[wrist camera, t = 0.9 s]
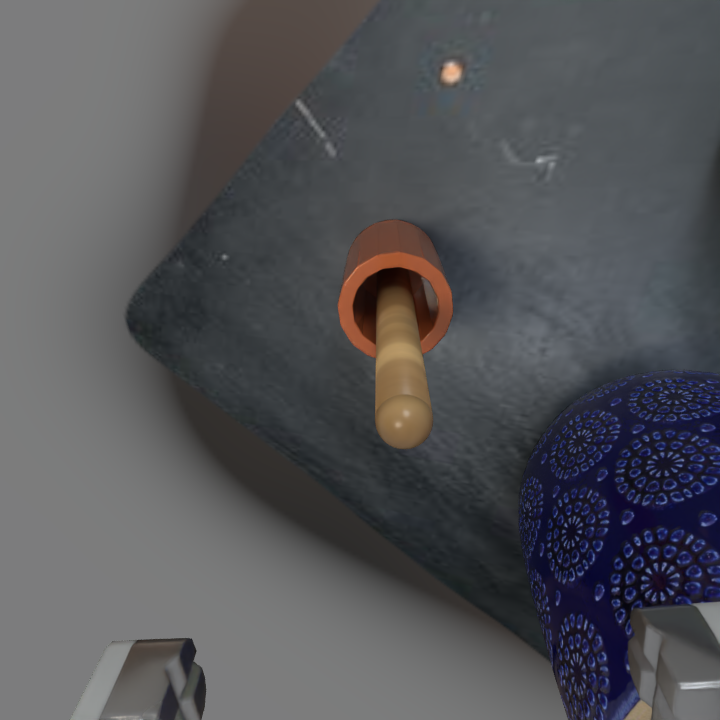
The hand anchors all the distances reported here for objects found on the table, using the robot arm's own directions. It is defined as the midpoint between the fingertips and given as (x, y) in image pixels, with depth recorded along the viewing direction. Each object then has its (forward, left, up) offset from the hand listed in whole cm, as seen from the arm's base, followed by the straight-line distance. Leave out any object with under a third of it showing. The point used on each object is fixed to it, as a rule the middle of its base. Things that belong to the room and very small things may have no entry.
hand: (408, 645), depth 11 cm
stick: (0, 0, -26) cm, 26 cm away
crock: (0, 0, -27) cm, 27 cm away
